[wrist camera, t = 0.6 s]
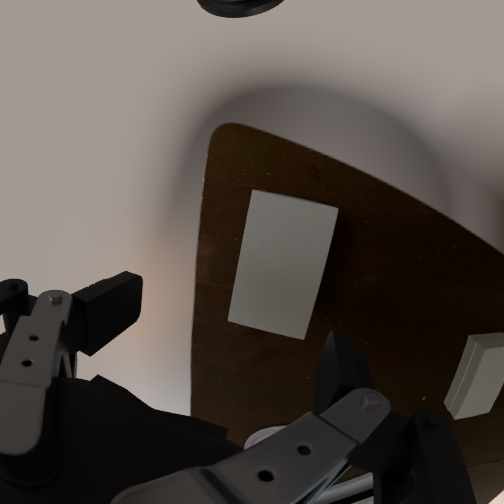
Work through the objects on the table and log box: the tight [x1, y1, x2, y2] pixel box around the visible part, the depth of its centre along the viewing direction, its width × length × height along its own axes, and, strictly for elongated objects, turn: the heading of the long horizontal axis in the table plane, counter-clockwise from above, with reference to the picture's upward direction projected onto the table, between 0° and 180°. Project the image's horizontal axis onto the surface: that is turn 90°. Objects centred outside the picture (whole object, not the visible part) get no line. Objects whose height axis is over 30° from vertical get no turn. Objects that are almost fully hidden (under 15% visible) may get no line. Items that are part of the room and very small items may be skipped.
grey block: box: [444, 332, 504, 420], centre depth 23 cm, size 10×6×4 cm, turn 179°
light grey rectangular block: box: [228, 190, 339, 340], centre depth 21 cm, size 10×6×3 cm, turn 169°
